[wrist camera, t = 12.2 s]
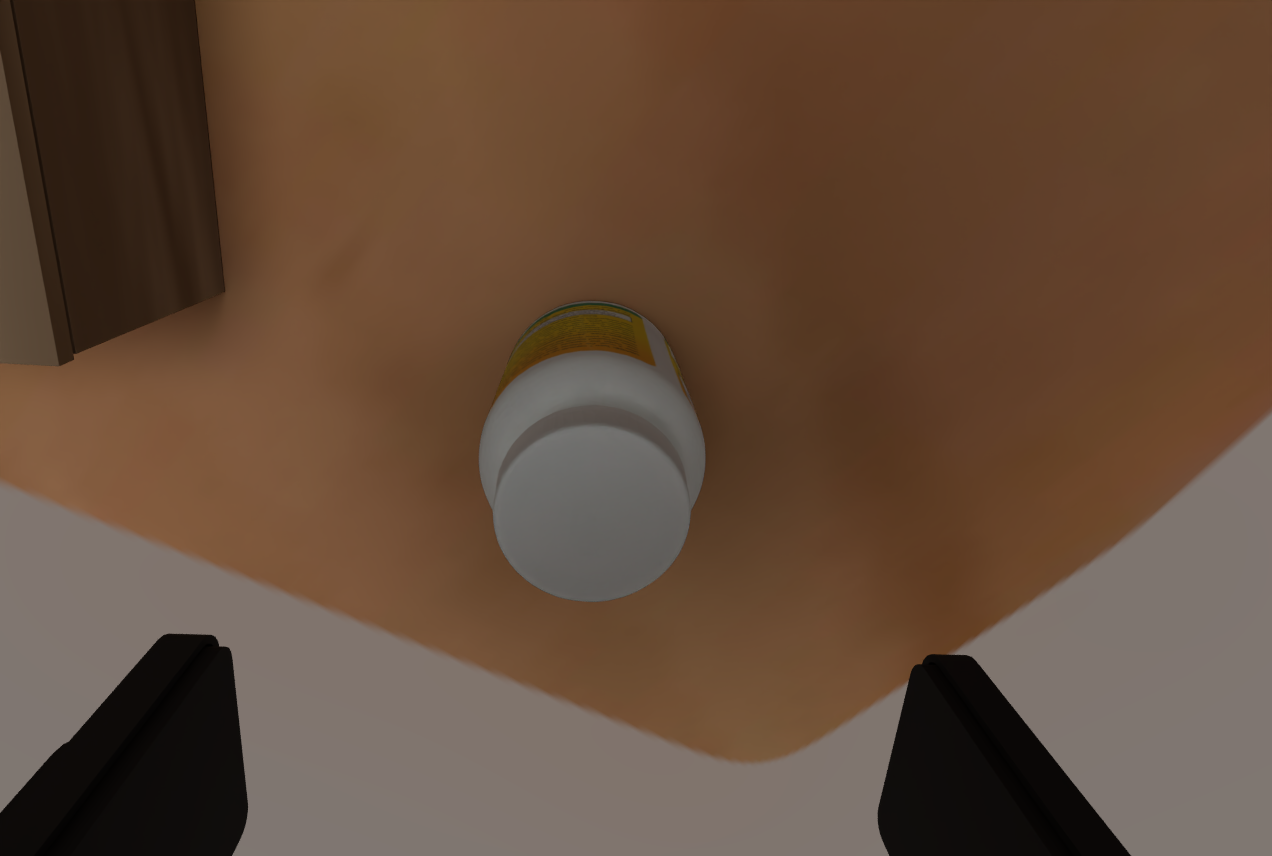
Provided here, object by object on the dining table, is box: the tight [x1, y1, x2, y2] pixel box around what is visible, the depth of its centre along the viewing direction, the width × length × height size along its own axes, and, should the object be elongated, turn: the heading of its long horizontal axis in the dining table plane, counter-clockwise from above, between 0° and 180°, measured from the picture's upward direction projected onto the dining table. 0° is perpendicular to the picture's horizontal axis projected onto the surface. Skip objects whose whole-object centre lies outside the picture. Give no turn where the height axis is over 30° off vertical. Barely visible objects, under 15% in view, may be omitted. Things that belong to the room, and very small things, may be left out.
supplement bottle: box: [479, 301, 706, 602], centre depth 20 cm, size 5×5×10 cm
